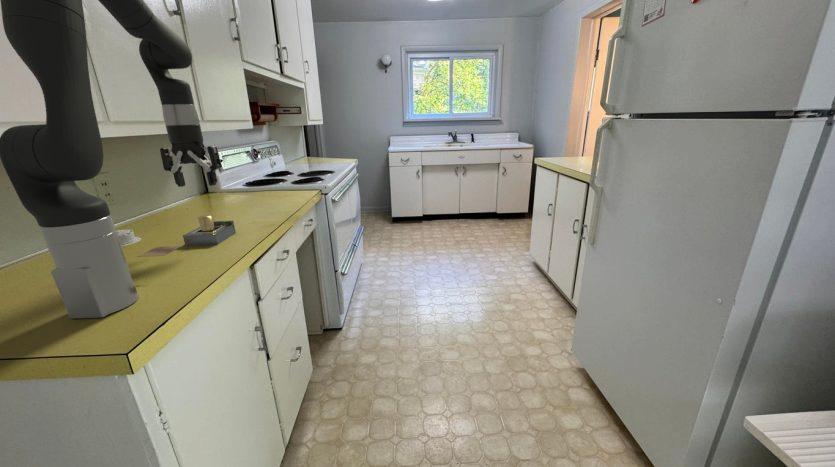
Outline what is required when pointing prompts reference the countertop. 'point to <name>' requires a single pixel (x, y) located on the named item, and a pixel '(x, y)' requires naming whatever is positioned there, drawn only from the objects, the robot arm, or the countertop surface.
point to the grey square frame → (210, 234)
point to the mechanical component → (127, 237)
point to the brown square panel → (159, 251)
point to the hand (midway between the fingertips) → (197, 185)
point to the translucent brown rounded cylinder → (206, 223)
